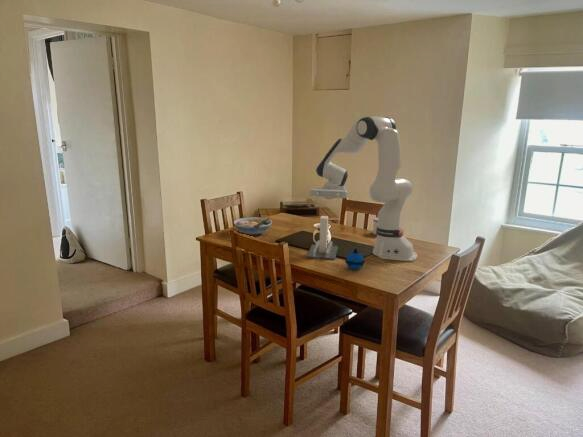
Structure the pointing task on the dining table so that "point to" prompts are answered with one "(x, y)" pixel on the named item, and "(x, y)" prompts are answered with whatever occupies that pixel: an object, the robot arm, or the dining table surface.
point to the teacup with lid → (375, 225)
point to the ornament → (354, 260)
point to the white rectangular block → (323, 234)
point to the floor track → (316, 254)
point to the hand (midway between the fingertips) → (327, 195)
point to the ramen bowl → (252, 225)
